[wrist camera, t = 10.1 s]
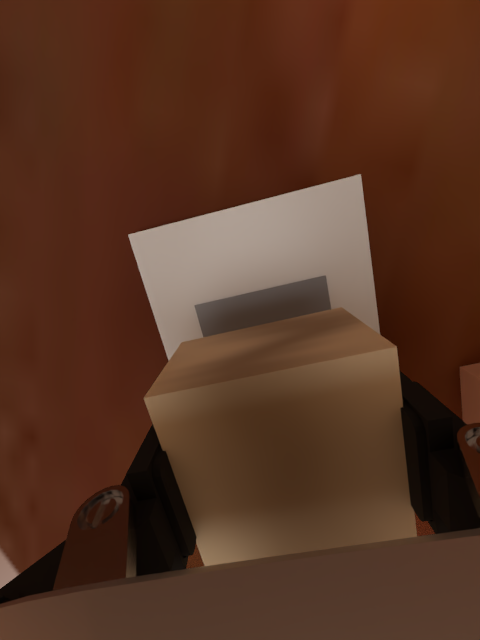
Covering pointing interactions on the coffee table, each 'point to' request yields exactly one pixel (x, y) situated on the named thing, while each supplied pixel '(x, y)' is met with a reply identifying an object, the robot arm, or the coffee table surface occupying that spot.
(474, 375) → the terracotta brick
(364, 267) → the base board
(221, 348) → the maple brick
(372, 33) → the coffee table surface
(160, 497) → the robot arm
